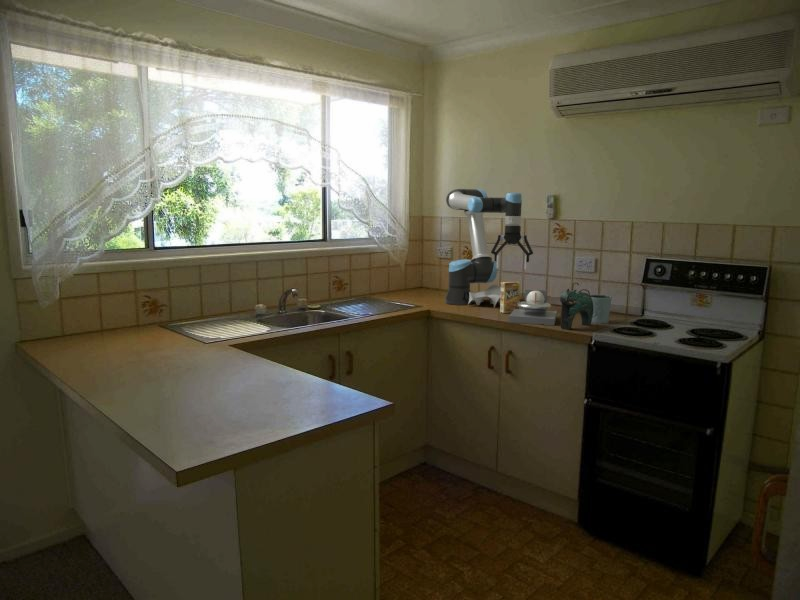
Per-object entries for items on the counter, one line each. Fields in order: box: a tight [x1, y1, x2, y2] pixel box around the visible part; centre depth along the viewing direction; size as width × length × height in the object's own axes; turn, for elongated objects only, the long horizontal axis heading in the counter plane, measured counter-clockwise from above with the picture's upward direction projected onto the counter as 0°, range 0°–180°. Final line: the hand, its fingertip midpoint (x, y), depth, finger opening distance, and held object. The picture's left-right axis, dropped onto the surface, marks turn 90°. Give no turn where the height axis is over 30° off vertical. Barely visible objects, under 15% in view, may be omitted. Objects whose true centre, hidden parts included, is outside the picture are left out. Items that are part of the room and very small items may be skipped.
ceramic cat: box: [559, 282, 594, 331], centre depth 254 cm, size 20×6×20 cm, turn 126°
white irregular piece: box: [468, 284, 501, 308], centre depth 314 cm, size 25×19×10 cm
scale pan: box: [517, 300, 552, 310], centre depth 270 cm, size 15×15×2 cm
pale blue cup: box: [590, 294, 613, 324], centre depth 267 cm, size 10×10×12 cm
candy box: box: [499, 281, 521, 314], centre depth 288 cm, size 9×4×15 cm, turn 107°
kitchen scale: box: [508, 288, 558, 326], centre depth 270 cm, size 20×20×13 cm
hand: (511, 268), depth 286 cm, fingers open, 13 cm apart
